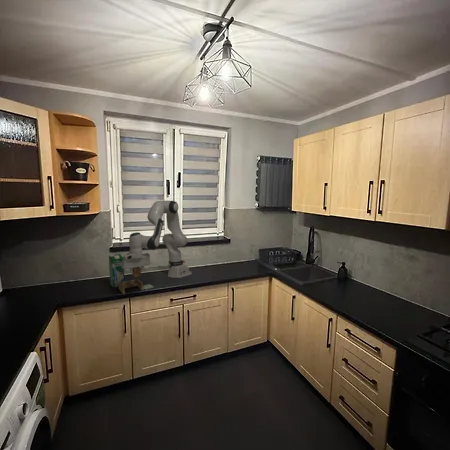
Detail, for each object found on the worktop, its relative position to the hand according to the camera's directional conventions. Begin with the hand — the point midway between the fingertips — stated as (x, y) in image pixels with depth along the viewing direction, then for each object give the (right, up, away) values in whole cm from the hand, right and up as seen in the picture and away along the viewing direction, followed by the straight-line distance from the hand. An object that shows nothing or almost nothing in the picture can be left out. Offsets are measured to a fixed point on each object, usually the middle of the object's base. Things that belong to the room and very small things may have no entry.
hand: (136, 272), depth 190 cm
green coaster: (+2, -15, +17) cm, 22 cm away
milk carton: (-24, -14, +22) cm, 35 cm away
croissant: (-9, -15, +12) cm, 21 cm away
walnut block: (0, -2, 0) cm, 2 cm away
